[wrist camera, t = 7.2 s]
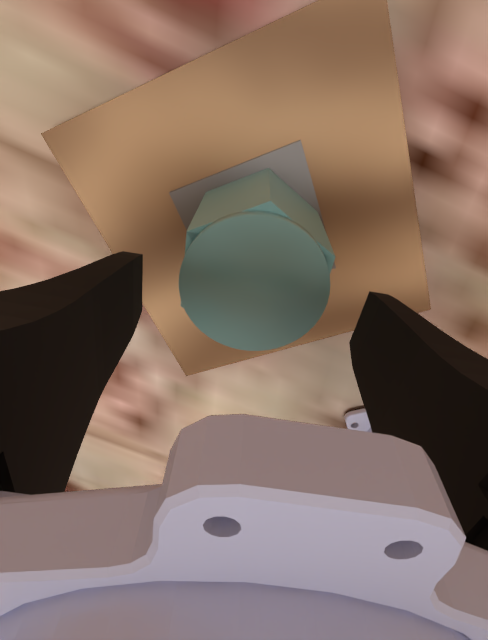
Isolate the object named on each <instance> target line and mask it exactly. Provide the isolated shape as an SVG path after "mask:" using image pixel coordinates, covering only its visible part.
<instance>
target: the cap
mask: <svg viewBox="0 0 488 640" xmlns="http://www.w3.org/2000/svg"><path fill="white" fill-rule="evenodd" d="M186 232H187V233H186V245H185V257H184V259H183V262H182V265H181V268H180V273H179V293H180V298H181V305H180V306H181V307H183V308H184V309H185V311H186V313H187V315H188V316H189V318H190V319H191V321H192V322H193V323H194V324H195V326H196V327H197V328H198V329H199V330H200V331H202V332H203V333H204V334H205V335H207V336H208V337H209V338H211V339H213V340H214V341H216V342H218V343H220V344H223V345H225V346H228V347H231V348H235V349H240V350H247V351H263V350H271V349H275V348H279V347H282V346H285V345H287V344H290V343H292V342H294V341H296V340H297V339H299V338H301V337H302V336H303V335H305V334H306V333H307V332H308V331H309V330H310V329H311V328H313V326H314V325H315V324H316V323H317V321H318V320H319V319H320V317H321V316H322V314H323V312H324V310H325V308H326V305H327V303H328V299H329V295H330V273H331V269H332V266H333V263H334V260H335V254H334V252H333V249H332V247H331V244H330V242H329V239H328V236H327V234H326V231H325V229H324V226H323V224H322V221H321V219H320V216H319V214H318V212H317V211H316V210H315V209H314V208H313V207H312V206H311V205H310V204H308V203H307V202H306V201H305V200H304V199H303V198H302V197H301V196H300V195H298V194H297V193H296V192H295V191H294V190H293V189H292V188H291V187H290V186H288V185H287V184H286V183H285V182H284V181H283V180H282V179H281V178H279V177H278V176H277V175H276V174H275V173H274V172H273V171H272V170H271V169H269V168H267V169H264V170H262V171H259V172H256V173H254V174H251V175H249V176H246V177H243V178H241V179H238V180H236V181H233V182H230V183H228V184H225V185H223V186H220V187H218V188H215V189H212V190H210V191H207V192H206V193H205V195H204V197H203V199H202V201H201V203H200V205H199V207H198V209H197V211H196V213H195V215H194V217H193V219H192V221H191V223H190V225H189V227H188V229H187V231H186Z"/></svg>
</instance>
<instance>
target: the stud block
mask: <svg viewBox="0 0 488 640" xmlns="http://www.w3.org/2000/svg"><path fill="white" fill-rule="evenodd" d="M41 135H42V136H43V138H44V140H45V141H46V143H47V145H48V146H49V148H50V150H51V151H52V153H53V155H54V156H55V158H56V160H57V161H58V163H59V165H60V166H61V168H62V170H63V171H64V173H65V175H66V176H67V178H68V180H69V181H70V183H71V185H72V186H73V188H74V190H75V191H76V193H77V195H78V196H79V198H80V200H81V201H82V203H83V205H84V206H85V208H86V210H87V211H88V213H89V215H90V216H91V218H92V220H93V221H94V223H95V225H96V226H97V228H98V230H99V231H100V233H101V235H102V236H103V238H104V240H105V241H106V243H107V245H108V246H109V248H110V250H111V251H112V253H113V254H115V253H118V252H122V251H125V252H131V253H137V254H143V280H142V303H143V305H144V306H145V308H146V310H147V311H148V313H149V315H150V316H151V318H152V320H153V321H154V323H155V325H156V326H157V328H158V330H159V331H160V333H161V335H162V336H163V338H164V340H165V341H166V343H167V345H168V346H169V348H170V350H171V351H172V353H173V355H174V356H175V358H176V360H177V361H178V363H179V365H180V366H181V368H182V370H183V371H184V373H185V375H186V376H188V375H192V374H195V373H199V372H203V371H206V370H210V369H214V368H217V367H221V366H225V365H228V364H232V363H236V362H239V361H243V360H247V359H250V358H254V357H258V356H261V355H265V354H269V353H272V352H276V351H280V350H283V349H287V348H291V347H294V346H298V345H302V344H305V343H309V342H313V341H316V340H320V339H324V338H327V337H331V336H335V335H338V334H342V333H346V332H349V331H353V330H355V327H356V324H357V322H358V319H359V317H360V314H361V312H362V309H363V306H364V304H365V301H366V299H367V296H368V294H369V291H371V292H377V293H383V294H388V295H390V296H392V297H394V298H396V299H397V300H399V301H401V302H402V303H403V304H405V305H406V306H408V307H409V308H411V309H412V310H413V311H415V312H416V313H419V312H423V311H426V310H430V309H431V307H430V300H429V293H428V286H427V279H426V272H425V265H424V258H423V251H422V244H421V237H420V230H419V223H418V216H417V209H416V202H415V195H414V188H413V181H412V174H411V166H410V159H409V152H408V145H407V138H406V131H405V124H404V117H403V110H402V103H401V96H400V89H399V82H398V75H397V68H396V61H395V54H394V47H393V40H392V33H391V26H390V19H389V12H388V5H387V0H318V1H316V2H314V3H312V4H310V5H308V6H306V7H303V8H301V9H299V10H297V11H295V12H293V13H291V14H289V15H287V16H285V17H283V18H281V19H278V20H276V21H274V22H272V23H270V24H268V25H266V26H264V27H262V28H260V29H258V30H256V31H254V32H251V33H249V34H247V35H245V36H243V37H241V38H239V39H237V40H235V41H233V42H231V43H229V44H227V45H224V46H222V47H220V48H218V49H216V50H214V51H212V52H210V53H208V54H206V55H204V56H202V57H199V58H197V59H195V60H193V61H191V62H189V63H187V64H185V65H183V66H181V67H179V68H177V69H175V70H172V71H170V72H168V73H166V74H164V75H162V76H160V77H158V78H156V79H154V80H152V81H150V82H147V83H145V84H143V85H141V86H139V87H137V88H135V89H133V90H131V91H129V92H127V93H125V94H123V95H120V96H118V97H116V98H114V99H112V100H110V101H108V102H106V103H104V104H102V105H100V106H98V107H96V108H93V109H91V110H89V111H87V112H85V113H83V114H81V115H79V116H77V117H75V118H73V119H71V120H68V121H66V122H64V123H62V124H60V125H58V126H56V127H54V128H52V129H50V130H48V131H46V132H44V133H41ZM267 168H269V169H271V170H272V171H273V172H274V173H275V174H276V175H277V176H278V177H279V178H281V179H282V180H283V181H284V182H285V183H286V184H287V185H288V186H290V187H291V188H292V189H293V190H294V191H295V192H296V193H297V194H298V195H300V196H301V197H302V198H303V199H304V200H305V201H306V202H307V203H308V204H310V205H311V206H312V207H313V208H314V209H315V210H316V211H317V212H318V214H319V216H320V219H321V221H322V224H323V226H324V229H325V231H326V234H327V236H328V239H329V242H330V244H331V247H332V249H333V252H334V254H335V260H334V263H333V266H332V269H331V273H330V295H329V299H328V303H327V305H326V308H325V310H324V312H323V314H322V316H321V317H320V319H319V320H318V321H317V323H316V324H315V325H314V326H313V328H311V329H310V330H309V331H308V332H307V333H306V334H305V335H303V336H302V337H301V338H299V339H297V340H296V341H294V342H292V343H290V344H287V345H285V346H282V347H279V348H275V349H271V350H263V351H247V350H240V349H235V348H231V347H228V346H225V345H223V344H220V343H218V342H216V341H214V340H213V339H211V338H209V337H208V336H207V335H205V334H204V333H203V332H202V331H200V330H199V329H198V328H197V327H196V326H195V324H194V323H193V322H192V321H191V319H190V318H189V316H188V315H187V313H186V311H185V309H184V308H183V307H181V306H180V305H181V298H180V293H179V273H180V268H181V265H182V262H183V259H184V257H185V245H186V233H187V232H186V231H187V229H188V227H189V225H190V223H191V221H192V219H193V217H194V215H195V213H196V211H197V209H198V207H199V205H200V203H201V201H202V199H203V197H204V195H205V193H206V192H207V191H210V190H212V189H215V188H218V187H220V186H223V185H225V184H228V183H230V182H233V181H236V180H238V179H241V178H243V177H246V176H249V175H251V174H254V173H256V172H259V171H262V170H264V169H267Z"/></svg>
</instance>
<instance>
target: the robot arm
mask: <svg viewBox="0 0 488 640" xmlns="http://www.w3.org/2000/svg"><path fill="white" fill-rule="evenodd" d="M142 280H143V254H137V253H131V252H125V251H122V252H118V253H115V254H112V255H110V256H107V257H105V258H103V259H100V260H98V261H96V262H93V263H91V264H88V265H86V266H83V267H81V268H79V269H76V270H73V271H70V272H68V273H65V274H62V275H59V276H57V277H54V278H51V279H48V280H45V281H41V282H38V283H34V284H31V285H27V286H23V287H19V288H15V289H10V290H5V291H0V640H488V359H486V358H485V357H483V356H481V355H479V354H477V353H476V352H474V351H472V350H471V349H469V348H467V347H466V346H464V345H462V344H461V343H459V342H458V341H456V340H455V339H453V338H452V337H450V336H449V335H447V334H446V333H444V332H443V331H441V330H440V329H438V328H437V327H436V326H434V325H433V324H431V323H430V322H429V321H427V320H426V319H424V318H423V317H422V316H420V315H419V314H418V313H416V312H415V311H413V310H412V309H411V308H409V307H408V306H406V305H405V304H403V303H402V302H401V301H399V300H397V299H396V298H394V297H392V296H390V295H388V294H383V293H377V292H371V291H369V294H368V296H367V299H366V301H365V304H364V306H363V309H362V312H361V314H360V317H359V319H358V322H357V324H356V327H355V330H354V332H353V335H352V337H351V340H350V351H351V359H352V366H353V370H354V374H355V377H356V380H357V384H358V387H359V390H360V394H361V397H362V400H363V403H364V406H365V408H363V409H358V410H354V411H350V412H348V413H346V414H345V422H346V425H347V428H348V429H344V428H337V427H330V426H323V425H316V424H309V423H302V422H295V421H288V420H281V419H274V418H268V417H261V416H254V415H247V414H232V415H211V416H207V417H205V418H203V419H201V420H199V421H197V422H195V423H193V424H191V425H189V426H187V427H185V428H183V429H181V431H180V433H179V435H178V437H177V439H176V440H175V442H174V444H173V446H172V448H171V450H170V454H169V458H168V462H167V466H166V470H165V475H164V479H163V483H162V484H157V485H145V486H133V487H121V488H108V489H96V490H84V491H72V492H64V491H65V488H66V485H67V482H68V479H69V477H70V474H71V471H72V468H73V465H74V462H75V460H76V457H77V454H78V451H79V449H80V446H81V443H82V441H83V438H84V435H85V433H86V430H87V428H88V425H89V422H90V420H91V418H92V415H93V413H94V410H95V408H96V405H97V403H98V400H99V398H100V396H101V394H102V392H103V390H104V388H105V386H106V384H107V382H108V380H109V378H110V377H111V375H112V373H113V371H114V369H115V368H116V366H117V364H118V362H119V360H120V358H121V357H122V355H123V353H124V351H125V349H126V347H127V346H128V344H129V342H130V340H131V338H132V336H133V334H134V332H135V329H136V326H137V324H138V321H139V318H140V315H141V312H142ZM352 423H353V424H352Z"/></svg>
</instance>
